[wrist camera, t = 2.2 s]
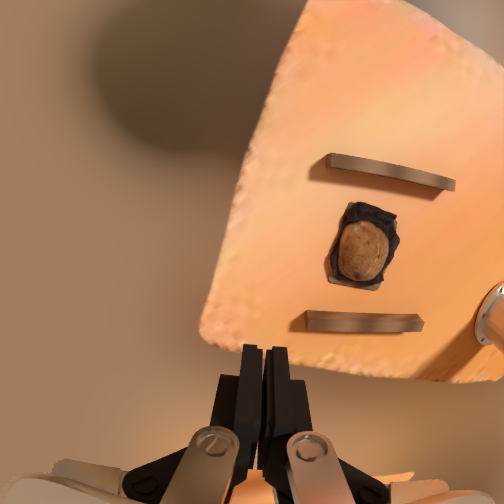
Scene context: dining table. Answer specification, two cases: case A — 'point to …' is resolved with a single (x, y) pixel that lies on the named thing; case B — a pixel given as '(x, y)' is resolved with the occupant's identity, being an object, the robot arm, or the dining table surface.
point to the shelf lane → (372, 320)
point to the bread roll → (363, 246)
